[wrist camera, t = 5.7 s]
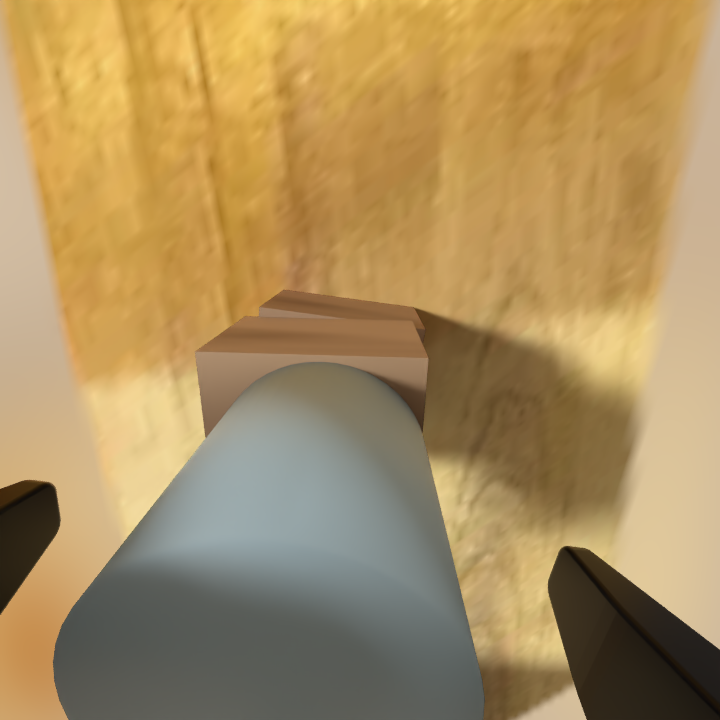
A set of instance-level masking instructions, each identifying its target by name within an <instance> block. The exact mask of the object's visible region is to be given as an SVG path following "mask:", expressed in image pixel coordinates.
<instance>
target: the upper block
mask: <svg viewBox="0 0 720 720" xmlns="http://www.w3.org/2000/svg"><path fill="white" fill-rule="evenodd" d="M195 356H196V364H197V372H198V380H199V388H200V396H201V404H202V413H203V421H204V429H205V437H207V436H208V435H209V434H210V432H211V431H212V430H213V429H214V427H215V426H216V425H217V423H218V422H219V421H220V420H221V418H222V417H223V416H224V415H225V413H226V412H227V411H228V410H229V408H230V407H231V406H232V404H233V403H234V402H235V401H236V399H237V398H238V397H239V396H240V395H241V394H242V393H243V391H244V390H245V389H246V388H248V387H249V386H250V385H251V384H252V383H253V382H255V381H256V380H258V379H259V378H261V377H263V376H264V375H266V374H268V373H270V372H272V371H274V370H277V369H279V368H282V367H286V366H289V365H293V364H299V363H305V362H330V363H338V364H342V365H347V366H351V367H354V368H357V369H360V370H363V371H365V372H367V373H369V374H371V375H373V376H375V377H377V378H378V379H380V380H381V381H383V382H385V383H386V384H388V385H389V386H390V387H391V388H392V389H393V390H395V391H396V392H397V393H398V394H399V395H400V396H401V397H402V398H403V400H404V401H405V402H406V403H407V404H408V406H409V407H410V409H411V410H412V412H413V413H414V415H415V417H416V419H417V421H418V423H419V425H420V428H421V431H422V432H423V420H424V408H425V396H426V384H427V371H428V359H429V358H428V356H427V353H426V351H425V349H424V347H423V344H422V342H421V340H420V337H419V335H418V333H417V331H416V328H415V326H414V324H413V321H403V320H365V319H327V318H289V317H252V316H245V317H244V318H242V319H241V320H239V321H238V322H236V323H235V324H234V325H232V326H231V327H229V328H228V329H226V330H225V331H224V332H222V333H221V334H219V335H218V336H216V337H215V338H214V339H212V340H211V341H209V342H208V343H207V344H205V345H204V346H202V347H201V348H199V349H198V350H197V351H195Z"/></svg>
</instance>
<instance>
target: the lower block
mask: <svg viewBox="0 0 720 720" xmlns="http://www.w3.org/2000/svg"><path fill="white" fill-rule="evenodd" d="M259 317H289V318H327V319H365V320H403V321H413V324H414V326H415V328H416V331H417V333H418V335H419V337H420V340H421V342H422V344H423V341H424V335H425V330H426V329H425V327H424V326H423V324H422V322H421V320H420V318H419V316H418V314H417V312H416V311H415V309H414V307H407V306H400V305H393V304H385V303H378V302H371V301H363V300H356V299H349V298H341V297H334V296H326V295H319V294H312V293H304V292H297V291H290V290H283V291H281V292H280V293H279V294H277V295H276V296H274V297H273V298H272V299H270V300H269V301H267V302H266V303H264V304H263V305H262V306H260V307H259Z"/></svg>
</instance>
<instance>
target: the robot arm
mask: <svg viewBox="0 0 720 720" xmlns="http://www.w3.org/2000/svg"><path fill="white" fill-rule="evenodd" d="M60 521H61V519H60V512H59V505H58V498H57V491H56V488H55V486H54V485H53V484H52V483H49V482H43V481H36V480H24V481H21V482H18V483H15V484H13V485H10V486H7V487H4V488H2V489H0V614H1V613H2V612H3V610H4V609H5V608H6V606H7V605H8V603H9V602H10V600H11V599H12V597H13V596H14V595H15V593H16V592H17V590H18V589H19V587H20V586H21V585H22V583H23V582H24V580H25V579H26V577H27V576H28V574H29V573H30V572H31V570H32V569H33V567H34V566H35V564H36V563H37V562H38V560H39V559H40V557H41V556H42V554H43V553H44V551H45V550H46V549H47V547H48V546H49V544H50V543H51V541H52V540H53V539H54V537H55V536H56V534H57V532H58V530H59V527H60ZM548 593H549V597H550V601H551V604H552V608H553V611H554V615H555V618H556V622H557V625H558V629H559V632H560V636H561V639H562V643H563V646H564V650H565V653H566V657H567V660H568V664H569V667H570V671H571V674H572V678H573V681H574V684H575V687H576V690H577V694H578V697H579V699H580V702H581V705H582V707H583V710H584V713H585V716H586V719H587V720H720V650H719V649H718V648H717V647H716V646H714V645H713V644H712V643H710V642H709V641H707V640H706V639H705V638H704V637H702V636H701V635H700V634H698V633H697V632H696V631H695V630H693V629H692V628H691V627H689V626H688V625H687V624H685V623H684V622H683V621H682V620H680V619H679V618H678V617H676V616H675V615H674V614H672V613H671V612H670V611H668V610H667V609H666V608H665V607H663V606H662V605H661V604H659V603H658V602H657V601H655V600H654V599H653V598H651V597H650V596H649V595H647V594H646V593H645V592H644V591H642V590H641V589H640V588H638V587H637V586H636V585H634V584H633V583H632V582H631V581H629V580H628V579H627V578H625V577H624V576H623V575H621V574H620V573H619V572H617V571H616V570H615V569H614V568H612V567H611V566H610V565H608V564H607V563H606V562H604V561H603V560H602V559H600V558H599V557H598V556H597V555H595V554H594V553H593V552H591V551H590V550H588V549H585V548H580V547H572V546H565V547H562V548H561V549H560V551H559V553H558V556H557V558H556V561H555V564H554V566H553V569H552V572H551V574H550V577H549V580H548Z"/></svg>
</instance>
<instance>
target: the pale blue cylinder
mask: <svg viewBox="0 0 720 720" xmlns="http://www.w3.org/2000/svg"><path fill="white" fill-rule="evenodd" d="M53 668H54V681H55V685H56V689H57V693H58V697H59V700H60V702H61V705H62V707H63V709H64V711H65V713H66V715H67V718H68V719H69V720H483V716H484V703H485V698H484V690H483V682H482V677H481V673H480V669H479V665H478V661H477V657H476V652H475V648H474V644H473V640H472V636H471V632H470V628H469V623H468V619H467V615H466V611H465V607H464V603H463V599H462V595H461V590H460V586H459V582H458V578H457V574H456V570H455V566H454V562H453V557H452V553H451V549H450V545H449V541H448V537H447V533H446V528H445V524H444V520H443V516H442V512H441V508H440V504H439V500H438V495H437V491H436V487H435V483H434V479H433V475H432V471H431V467H430V462H429V458H428V454H427V450H426V446H425V442H424V438H423V434H422V431H421V428H420V425H419V423H418V421H417V419H416V417H415V415H414V413H413V412H412V410H411V409H410V407H409V406H408V404H407V403H406V402H405V401H404V400H403V398H402V397H401V396H400V395H399V394H398V393H397V392H396V391H395V390H393V389H392V388H391V387H390V386H389V385H388V384H386V383H385V382H383V381H381V380H380V379H378V378H377V377H375V376H373V375H371V374H369V373H367V372H365V371H363V370H360V369H357V368H354V367H351V366H347V365H342V364H338V363H330V362H305V363H299V364H293V365H289V366H286V367H282V368H279V369H277V370H274V371H272V372H270V373H268V374H266V375H264V376H263V377H261V378H259V379H258V380H256V381H255V382H253V383H252V384H251V385H250V386H249V387H248V388H246V389H245V390H244V391H243V393H242V394H241V395H240V396H239V397H238V398H237V399H236V401H235V402H234V403H233V404H232V406H231V407H230V408H229V410H228V411H227V412H226V413H225V415H224V416H223V417H222V418H221V420H220V421H219V422H218V423H217V425H216V426H215V427H214V429H213V430H212V431H211V432H210V434H209V435H208V436H207V437H206V439H205V440H204V441H203V443H202V444H201V445H200V446H199V448H198V449H197V450H196V451H195V453H194V454H193V455H192V456H191V458H190V459H189V460H188V462H187V463H186V464H185V465H184V467H183V468H182V469H181V470H180V472H179V473H178V474H177V475H176V477H175V478H174V479H173V481H172V482H171V483H170V484H169V486H168V487H167V488H166V489H165V491H164V492H163V493H162V495H161V496H160V497H159V498H158V500H157V501H156V502H155V503H154V505H153V506H152V507H151V508H150V510H149V511H148V512H147V514H146V515H145V516H144V517H143V519H142V520H141V521H140V522H139V524H138V525H137V526H136V527H135V529H134V530H133V531H132V533H131V534H130V535H129V536H128V538H127V539H126V540H125V541H124V543H123V544H122V545H121V547H120V548H119V549H118V550H117V552H116V553H115V554H114V555H113V557H112V558H111V559H110V560H109V562H108V563H107V564H106V566H105V567H104V568H103V569H102V571H101V572H100V573H99V574H98V576H97V577H96V578H95V580H94V581H93V582H92V583H91V585H90V586H89V587H88V589H87V590H86V591H85V592H84V593H83V595H82V596H81V597H80V599H79V600H78V601H77V602H76V604H75V605H74V606H73V608H72V609H71V611H70V612H69V614H68V616H67V618H66V619H65V621H64V623H63V624H62V626H61V629H60V632H59V635H58V638H57V641H56V644H55V651H54V660H53Z"/></svg>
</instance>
